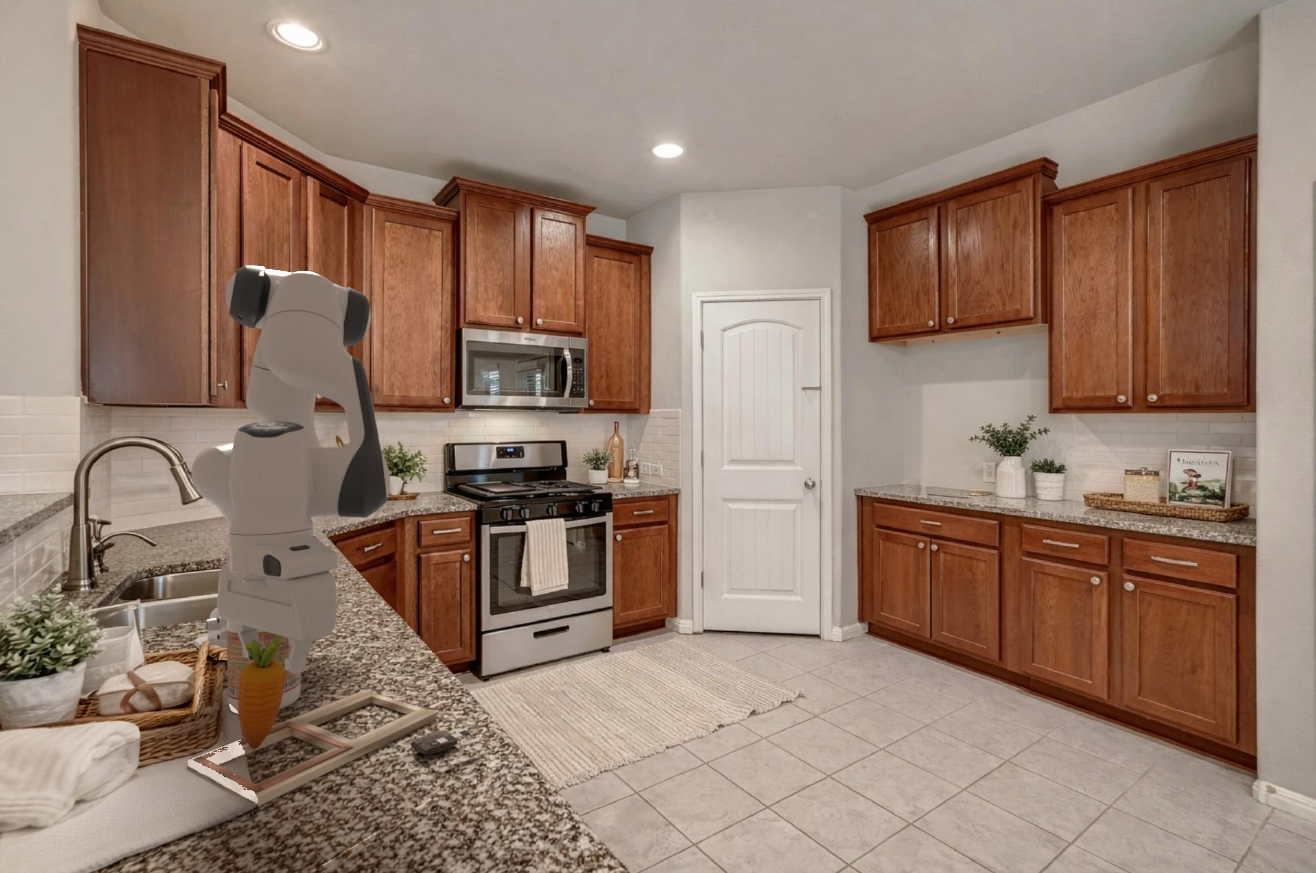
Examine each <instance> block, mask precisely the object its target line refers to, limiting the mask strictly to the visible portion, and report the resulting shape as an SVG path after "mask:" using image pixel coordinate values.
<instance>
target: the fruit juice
mask: <svg viewBox="0 0 1316 873" xmlns="http://www.w3.org/2000/svg"><path fill="white" fill-rule="evenodd" d="M257 630H258V629H257ZM258 634H259V639H260V642H262V643H263V648H265V649H266V648H267V647H268V646H269V644H270V643H272V642H273V640H274V638H275V635H276V634H272V633H269V632H265V631H262V630H258ZM291 647H292V646H289V638H286V637H283V636H282V638H281V641H280V643H279V645H278V648H279V649H278V651H277V652H276V653H275V655H274V656H273V658H272V660H277V661H279V662H280V663H281V664H282V665H283V666H284V667H285V658H287V657H289V655H290V651H291ZM226 661H227V704H228V703H229V704H231V705H232V706H233V707H234V708H235V709H236V710H237V711H238V713H239V710H238V692H239V678H240V673H241V671H242V670H243V669H244V668H246V667H247V666H248V665H249V664H250V663H252V662H254V660H249V659H246V658H244V657H243V645H242V644H241V641H240V638H239V636H238V633H237V623H233V622H230V621H227V660H226ZM301 674H302V672H300V673H297V674H292V673H289V672H286V677H285V683H284V690H283V695H282V700H281V704H280V707H279V710H282V709H284V708H286V707H289V706H290V705H293V704H294V703H295V702H296V701H298V699H300V695H301V693H302V692H301V691H302V690H301V689H302V675H301Z"/></svg>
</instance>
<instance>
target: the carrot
mask: <svg viewBox="0 0 1316 873" xmlns="http://www.w3.org/2000/svg"><path fill="white" fill-rule="evenodd" d="M281 638H282V636H279V635H275V638H274V640H273V642H272V643H270V644H269V646H268V647H267V648H266V649H265V648H262V649H261V652H260V648H259V644H258V643H257V641H256V640H255V639H254V640H252V642H251V643H252V644H247V645H246V649H247V650H248V652H249V653H250V654H251V656H252V658H253V659H254V662H252V663H250V664H249V665H248V666H247V667H246V668H244V669H243V670H242V671H241V673H240V678H239V692H238V710H239V715H238V716H239V725H240V728H241V731H242V733H243V736H244V737H245V739H246V740H247V742H248V744H249V746H250V747H251V748H253V749H256V748H258V747H259V746H260V745H261V744H262V742H263V741H264V739H265V738H266V736H267V735H268V733H269V731H270V730H271V728H272V726H274V724H275V722H276V721H275V720H276V719H277V715H278V714H279V710H280V709H279V707H280V704H281V700H282V695H283V690H284V683H285V677H286V671H285V667H284V666H283V665H282V664H281V663H280V662H279V661H277V660H272V658H273V656H274V655H275V653H276V652H277V651H278V649H279V648H278V645H279V643H280V641H281Z"/></svg>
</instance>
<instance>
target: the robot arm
mask: <svg viewBox="0 0 1316 873" xmlns="http://www.w3.org/2000/svg"><path fill="white" fill-rule="evenodd" d="M225 303H226V307H227V310H228V312H229V313H228V315H230V317H231V318H232V319H233V321H234V322H236V323H238V324H240V325H241V326H242V325H243V326H244V327H247V328H250V329H253V330H254V329H255V328H257V329H260V330H261V331H260V332H261V333H260V335H259V338H258V340H257V344H256V347H255V351H254V355H253V360H252V364H251V370H250V374H249V380H248V385H247V392H246V395H245V396H246V398H245V405H246V408H247V409H248V411H249V412H250V413H251V414H252V415H253V416H254V417H255V418H257V419H258V420H259V421H261V422H252V423H248V424H245V425H243V426H240V427H239V428H237V430H236V431H235V435H234V438H233V441H231V442H227V443H226V442H225V443H221V444H217V445H214V446H209V447H206V448H204V449H202V450H201V451H199V453H198V455H197V456H196V457H195V459H194V461H193V463H192V467H191V472H190V473H191V474H190V476H191V481H192V484H193V486H194V489H195V490H196V491H197V493H198V494H199V495H200V496H201V497H203V499H205V500H207V501H209V502H211V503H212V504H213V505H214V506H215V507H216V508H217V509H218V510H219V511H220V513H221V514H222V515H223V517H224V518H225V520H226V522H227V525H228V528H229V554H228V555H227V556H226V560H225V562H226V563H224V564H223V565H222V566H221V569H220V572H219V576H218V587H217V599H216V600H217V601H216V602H217V603H216V608H214V609H213V610H212V611H211V612H210V615H209V618H207V619H206V620H205V624H204V625H205V630H206V632H208V633H207V634H205V635H202V636H199V637H197V638H196V639H194V642H193V644H194V646H195V647H196V648H198V649H199V646H200V645H201V644H202V642H204V641H210V643H211V645H217V646H220V647H223V648H227V621H230V622H233V623H237V633H238V636H239V638H240V641H241V644H242V645H243V657H244V658H246V659H249V660H254V659H253V658H252V656H251V654H250V653H249V652H248V650H247V649H246V645H247V644H252V643H251V642H252V640H254V639H255V640H256V641H257V643H258V644H259V648H260V652H261V649H262V648H263V643H262V642H260V639H259V634H258V630H262V631H265V632H269V633H272V634H276V635H279V636H283V637H286V638H289V646H292V647H291V651H290V655H289V657H287V658H285V671H286V672H289V673H292V674H297V673H300V672H301V673H303V672H304V671H306V669H307V656H308V654H309V651H310V650H311V647H312V645H313V642H314V641H317V640H320V639H321V640H322V639H323V638H324V639H325V638H327V637H330V635H331V634H332V632H333V631H334V629H335V627H336V624H337V584H336V583H337V582H336V579H335V576H334V575H333V573H332V572H331V571H334V570H336V569H337V568H338V554H337V552H335V551H334V550H333V549H331V548H330V547H328V546H327V545H326V544H324V543H323V542H322V541H320V539H319V537H317V536H315V535H314V523H313V519H312V518H319V517H320V518H321V517H323V518H325V517H339V518H362V519H363V518H364V519H366V518H368V517H370V516H371V515H373V514H374V513H375V512H377V511H378V510H380V508H381V507H383V506H384V505H385V504H386V503H387V502H388V497H389V495H390V491H391V476H390V470H389V467H388V463H387V460H386V459H385V457H384V454H383V452H382V449H381V444H380V439H379V436H380V435H379V431H378V424H377V420H376V414H375V408H374V404H373V398H372V392H371V390H370V386H369V380H368V377H367V376H368V375H367V372H366V370H365V367H364V365H363V363H362V361H361V360H360V359H358V358H356V357H355V356H353V355H351V354H350V353H349V352H348V351H347V349H346V348H345V347H350V346H351V347H352V346H354V345H357V344H358V343H360V342H362V341H363V339H364V337H365V335H366V334H367V333H368V331H369V329H370V326H371V322H372V311H371V308H370V301H369V300H368V298H367V295H365V294H363V293H362V292H360V291H358V290H356V289H354V288H352V287H349V286H348V287H343V286H341V285H339V284H337V283H333V282H332V281H331V280H330V279H328V278H326V277H325V276H323V275H321V274H319V273H315V272H312V271H294V272H288V271H283V270H282V271H281V270H276V269H267V268H266V267H265V266H259V265H244V266H242V267H240V268H238V269H236V272H235V273H234V274H233V275H232V277H230V279H229V281H228V283H227V285H226V288H225ZM317 395H318V396H321V397H323V398H325V399H329V400H331V401H333V402H335V403H336V404H338V405H340V407H342V408H343V409H344V412H345V418H346V426H347V431H348V432H347V433H348V436H349V443H347V444H345V445H342V446H338V447H337V446H335V447H334V446H333V447H331V446H330V447H329V446H328V447H325V446H323V444H322V443H321V441H320V440H319V437H318V434H317V430H316V428H315V405H316V399H317ZM257 629H258V630H257Z"/></svg>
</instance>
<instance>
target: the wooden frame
mask: <svg viewBox="0 0 1316 873" xmlns="http://www.w3.org/2000/svg"><path fill="white" fill-rule="evenodd" d="M370 704H374V705H376V706H379V707H383V708H386V709H388V710H393V711H395V712H397V713H402V714H404V715H403V716H402V717H399V718H397V719H394V720H392V721H391V722H388V723H386V724H384V725H382V726H380V727H377V728H375V729H373V730H371V731H368V732H367V733H364V734H362V735H360V736H358V737H355V738H353V739H351V738H350V739H349V738H348V737H344V736H342V735H339V734H337V733H334V732H332V731H329V730H327V729H323V728H321V727H319V725H321V724H324V723H326V722H328V721H331V720H333V719H337V718H338V717H341V716H343V715H346V714H348V713H350V712H352V711H353V712H354V711H356V710H358V709H361V708H362V707H365V706H368V705H370ZM436 720H437V712H436V711H433V710H430V709H426V708H424V707H421V706H417V705H414V704H410V703H407V702H404V701H401V700H398V699H395V698H392V697H389V696H385V695H384V694H379V693H376V692H373V691H369V690H367V689H364V690H362V691H358V692H356V693H354V694H351V695H349V696H346V697H343V698H341V699H338V700H336V701H334V702H331V703H328V704H325V705H323V706H321V707H318V708H316V709H313V710H310V711H308V712H305V713H303V714H300V715H298V716H295V717H292V718H289V719H287V720H284V721H282V722H280V723H277V724H275V725H274V724H273V726H272V728H271V730H270V731H269V733H268V735H267V736H266V738H265V739H264V741H263V742H262V744H261V745H260V746H259V747H258V748H256V749H253V748H251V747H250V746H249V744H248V742H247V740H246V739H245V737H241V738H240V739H241V741H238V742H240V743H239V745H240V744H241V745H242V746H243V747H242V748H243V750H245V753H246V755H248V754H251V753H253V752H256V751H258V750H260V749H264V748H265V747H268V746H270V745H273V744H276V743H279V742H280V741H283V740H285V739H288V738H290V737H294V738H295V739H298V740H301V741H304V742H306V743H308V744H311V745H313V746H315V747H318V748H320V749H323V750H324V752H322V753H320V754H318V755H316V756H314V757H311V758H310V759H307V760H306V761H302V762H300V763H298V764H297V765H294V766H293V767H292V766H291V767H290V768H287V769H285V770H284V771H281V772H278V773H277V774H275V775H272V776H270V777H268V778H266V779H263V780H261V781H259V782H257V783H254V782H252V781H250V780H249V779H247V778H244V777H242V776H241V775H239V774H237V773H234V772H233V771H231V770H229V769H226V768H225V767H223V766H221V765H217V764H215V763H213V762H211V761H209V760H207V759H206V758H208V757H211V756H213V755H215V753H213V752H217V750H215V751H213V752H212V753H211V754H210V753H208V754H205V755H203V756H200V757H197V758H195V759H193V760H194V761H196V762H198V763H201V764H202V765H203V766H206V767H208V768H211V769H212V770H215V771H216V772H218V773H219V774H222V775H223V776H224V777H227V778H229V779H231V780H233V781H235V782H237V783H238V784H239V785H242V787H245V788H247V790H252V791H254V792H255V794H256V796H257V798H258V803H257V804H258V805H257V806H258V807H260V806H262V805H264V804H266V803H268V802H270V801H272V800H274V799H276V798H278V797H280V796H282V795H285V794H287V793H289V792H291V791H292V790H295V789H297V788H299V787H301V786H303V785H305V784H307V783H309V782H311V781H314V780H315V779H317V778H320V777H321V776H324V775H325V774H327V773H330V772H332V771H334V770H336V769H338V768H340V767H342V766H344V765H346V764H348V763H350V762H352V761H354V760H356V759H359V758H361V757H362V756H364V755H366V754H368V753H370V752H372V751H375V750H377V749H379V748H382V747H383V746H385V745H386V744H387V745H388V744H389V743H390V742H393V741H396V740H397V739H400V738H401V737H403V736H405V735H408V734H410V733H411V732H414V731H417V730H418V729H419V728H422V727H424V726H426V725H428V724H430V723H432V722H434V721H436ZM224 748H228V747H223V748H222V749H221V748H220V749H218V750H222V751H223V750H227V749H224ZM222 751H220V752H222ZM218 752H219V751H218ZM209 763H211V764H209ZM232 772H233V773H232ZM234 774H235V775H234ZM245 788H243V789H244V790H246V789H245Z"/></svg>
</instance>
